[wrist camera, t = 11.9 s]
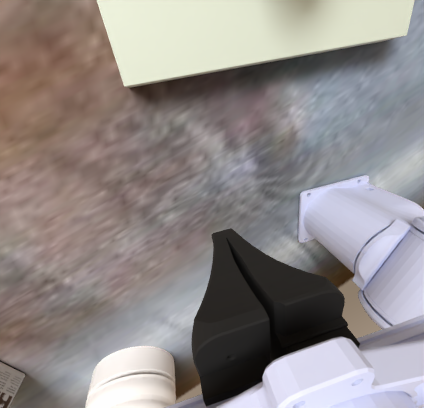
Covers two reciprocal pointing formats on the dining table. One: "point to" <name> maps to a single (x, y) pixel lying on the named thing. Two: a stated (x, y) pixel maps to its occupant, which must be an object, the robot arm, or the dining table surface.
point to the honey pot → (133, 379)
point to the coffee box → (9, 384)
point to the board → (239, 32)
